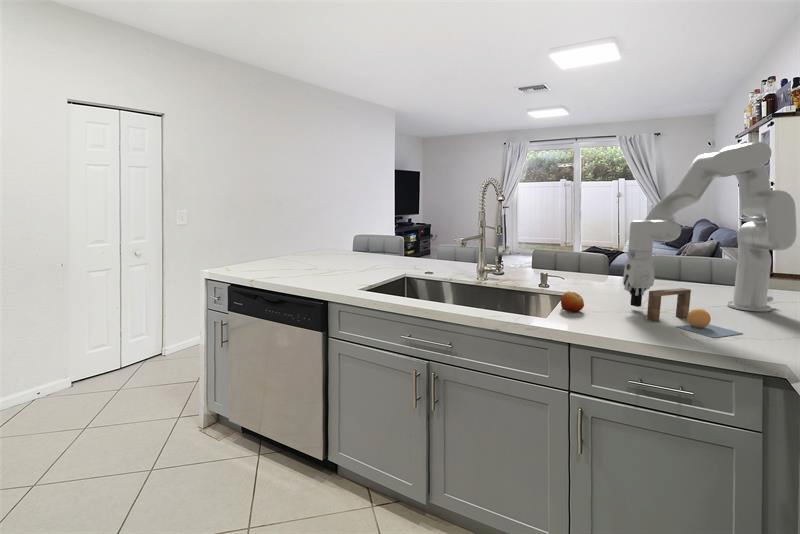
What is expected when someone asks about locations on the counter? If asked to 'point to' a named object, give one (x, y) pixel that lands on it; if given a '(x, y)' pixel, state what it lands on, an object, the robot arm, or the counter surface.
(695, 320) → the ball
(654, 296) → the bridge
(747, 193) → the robot arm
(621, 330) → the counter surface
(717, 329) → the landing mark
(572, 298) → the fruit
